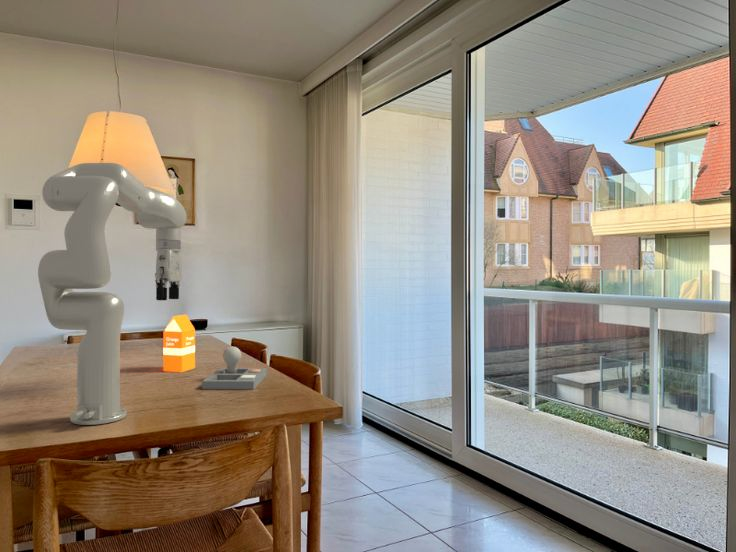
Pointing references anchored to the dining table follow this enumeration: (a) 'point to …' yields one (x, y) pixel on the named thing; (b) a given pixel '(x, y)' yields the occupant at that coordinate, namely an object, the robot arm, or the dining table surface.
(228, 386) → the socket board
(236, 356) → the lightbulb
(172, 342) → the orange juice
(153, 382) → the dining table surface
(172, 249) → the robot arm
